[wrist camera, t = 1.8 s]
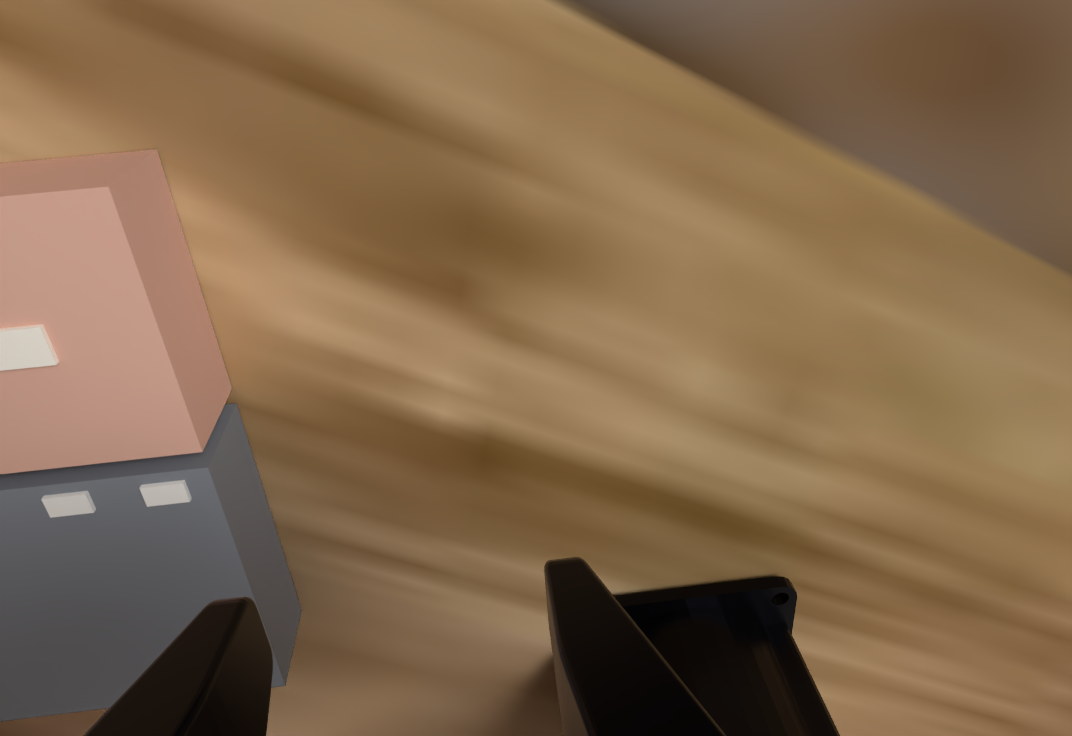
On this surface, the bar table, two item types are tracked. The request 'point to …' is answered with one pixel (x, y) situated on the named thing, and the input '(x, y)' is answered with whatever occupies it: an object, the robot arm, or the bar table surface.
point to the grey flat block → (131, 569)
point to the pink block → (100, 317)
